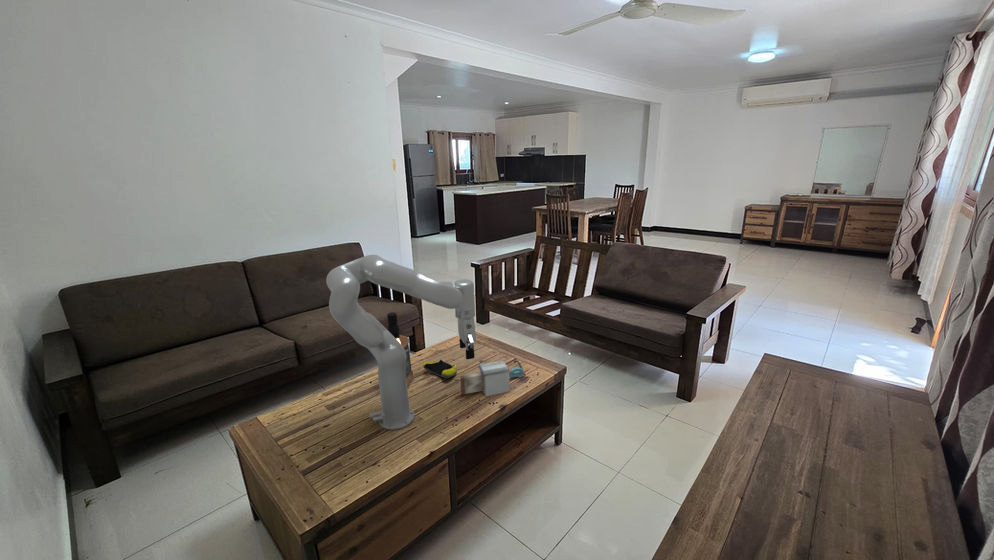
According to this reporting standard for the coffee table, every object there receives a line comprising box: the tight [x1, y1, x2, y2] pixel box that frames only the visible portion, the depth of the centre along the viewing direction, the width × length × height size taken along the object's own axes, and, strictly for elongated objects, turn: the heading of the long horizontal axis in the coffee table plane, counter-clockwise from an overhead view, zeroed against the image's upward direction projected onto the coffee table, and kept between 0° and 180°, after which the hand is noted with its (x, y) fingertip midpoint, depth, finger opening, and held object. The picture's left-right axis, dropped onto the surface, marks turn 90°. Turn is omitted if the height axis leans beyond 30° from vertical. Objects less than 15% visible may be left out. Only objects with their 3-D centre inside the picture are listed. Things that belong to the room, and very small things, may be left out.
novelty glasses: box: [509, 360, 525, 379], centre depth 177 cm, size 14×15×5 cm
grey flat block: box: [459, 372, 484, 395], centre depth 162 cm, size 18×2×7 cm, turn 108°
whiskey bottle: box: [386, 311, 415, 389], centre depth 165 cm, size 10×10×32 cm
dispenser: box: [478, 360, 511, 397], centre depth 163 cm, size 10×8×10 cm
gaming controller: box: [422, 359, 457, 379], centre depth 176 cm, size 15×6×10 cm
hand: (467, 352), depth 156 cm, fingers open, 9 cm apart
